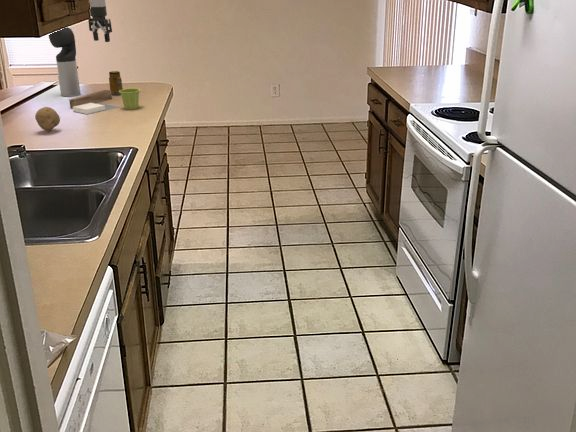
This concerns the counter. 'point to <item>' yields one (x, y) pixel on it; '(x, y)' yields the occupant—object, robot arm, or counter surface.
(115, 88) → the condiment
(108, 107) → the mat
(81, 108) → the tile
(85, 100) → the push bar
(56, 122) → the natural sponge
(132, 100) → the plant pot
